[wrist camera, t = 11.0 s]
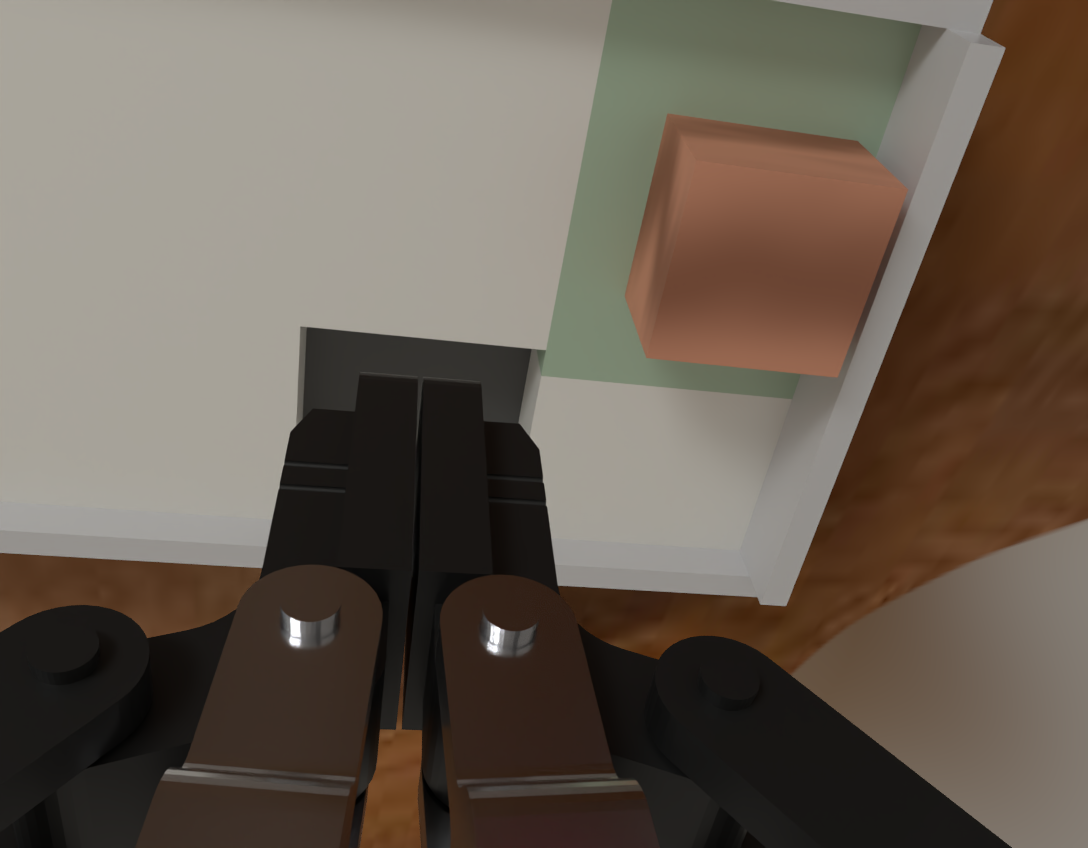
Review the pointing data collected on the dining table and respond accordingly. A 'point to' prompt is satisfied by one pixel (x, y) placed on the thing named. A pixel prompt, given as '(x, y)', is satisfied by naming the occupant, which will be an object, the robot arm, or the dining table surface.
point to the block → (758, 246)
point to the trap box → (427, 256)
